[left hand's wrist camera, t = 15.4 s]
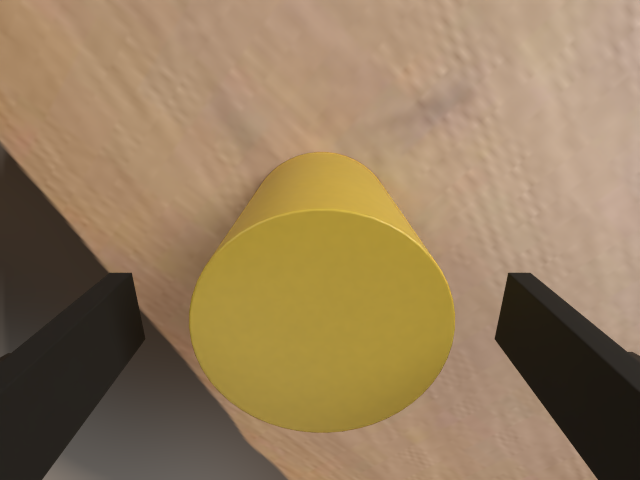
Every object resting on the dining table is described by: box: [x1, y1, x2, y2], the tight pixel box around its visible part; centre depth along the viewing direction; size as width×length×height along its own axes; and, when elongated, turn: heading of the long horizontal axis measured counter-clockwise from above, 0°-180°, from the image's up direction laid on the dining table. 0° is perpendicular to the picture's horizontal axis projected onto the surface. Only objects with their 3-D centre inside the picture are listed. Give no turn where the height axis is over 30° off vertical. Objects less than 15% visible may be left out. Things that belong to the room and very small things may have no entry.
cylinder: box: [189, 152, 455, 433], centre depth 16 cm, size 8×8×10 cm
